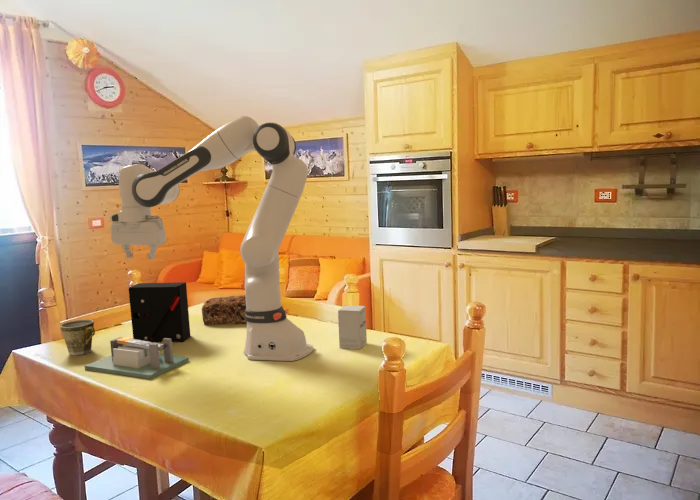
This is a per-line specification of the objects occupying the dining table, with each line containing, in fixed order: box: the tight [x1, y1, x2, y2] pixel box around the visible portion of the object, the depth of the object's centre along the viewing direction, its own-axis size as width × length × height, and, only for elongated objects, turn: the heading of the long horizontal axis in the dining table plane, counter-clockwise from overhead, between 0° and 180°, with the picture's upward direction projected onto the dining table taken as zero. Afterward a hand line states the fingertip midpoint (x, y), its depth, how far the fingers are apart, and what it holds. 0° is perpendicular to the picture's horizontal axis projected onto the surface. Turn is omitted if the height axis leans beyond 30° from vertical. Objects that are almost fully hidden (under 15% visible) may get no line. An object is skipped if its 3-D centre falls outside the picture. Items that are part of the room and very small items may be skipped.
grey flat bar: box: [117, 336, 167, 351], centre depth 162 cm, size 17×4×1 cm, turn 66°
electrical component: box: [128, 281, 191, 343], centre depth 189 cm, size 18×10×20 cm, turn 84°
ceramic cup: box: [60, 319, 96, 356], centre depth 178 cm, size 13×10×10 cm
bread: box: [201, 295, 247, 325], centre depth 212 cm, size 19×11×10 cm, turn 87°
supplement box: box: [337, 305, 368, 350], centre depth 174 cm, size 7×7×13 cm
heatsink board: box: [84, 336, 190, 380], centre depth 164 cm, size 26×16×8 cm, turn 66°
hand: (140, 258), depth 174 cm, fingers open, 8 cm apart
